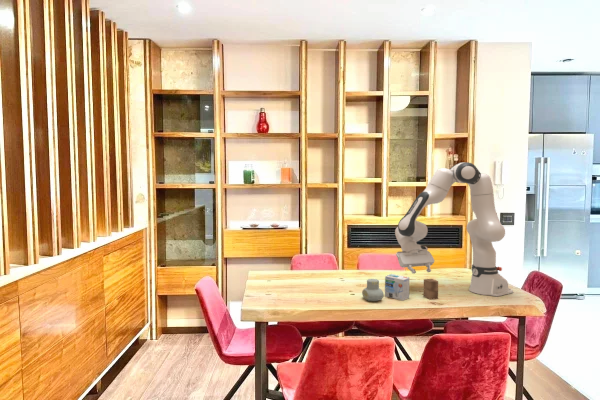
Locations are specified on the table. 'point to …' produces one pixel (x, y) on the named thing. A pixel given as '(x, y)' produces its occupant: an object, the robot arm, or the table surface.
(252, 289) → the table surface
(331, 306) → the table surface
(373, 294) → the air freshener
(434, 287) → the walnut block
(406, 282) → the light bulb box
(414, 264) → the robot arm
